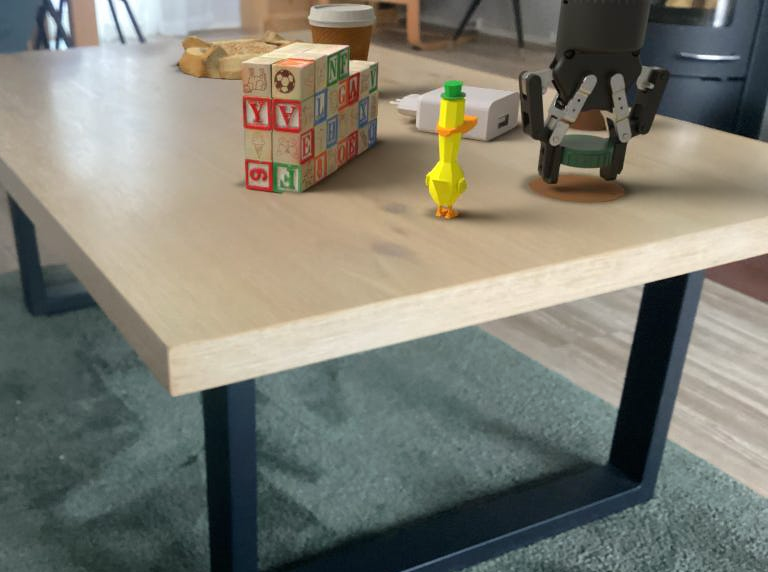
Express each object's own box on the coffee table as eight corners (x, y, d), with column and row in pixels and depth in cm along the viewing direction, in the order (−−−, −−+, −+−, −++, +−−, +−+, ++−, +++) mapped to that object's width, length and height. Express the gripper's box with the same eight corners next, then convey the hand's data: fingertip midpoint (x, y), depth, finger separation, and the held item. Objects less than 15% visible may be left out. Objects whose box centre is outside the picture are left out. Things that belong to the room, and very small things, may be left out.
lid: (541, 152, 85) (543, 135, 84) (595, 149, 86) (598, 132, 85) (565, 170, 80) (568, 152, 79) (622, 167, 81) (626, 149, 80)
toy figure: (448, 204, 81) (459, 72, 75) (482, 211, 79) (497, 76, 74) (411, 223, 77) (420, 84, 71) (447, 232, 75) (459, 89, 69)
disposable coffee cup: (300, 101, 122) (300, 10, 116) (315, 88, 130) (315, 2, 124) (367, 104, 120) (371, 12, 114) (377, 91, 128) (381, 4, 122)
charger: (409, 114, 114) (516, 129, 107) (373, 128, 108) (485, 145, 100) (411, 77, 112) (521, 90, 104) (375, 89, 106) (489, 103, 98)
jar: (609, 125, 108) (624, 37, 103) (607, 135, 104) (623, 44, 99) (566, 122, 110) (578, 35, 105) (563, 131, 105) (575, 42, 100)
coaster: (626, 183, 87) (627, 179, 86) (621, 210, 79) (622, 206, 79) (534, 174, 90) (535, 170, 89) (521, 200, 82) (522, 196, 82)
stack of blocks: (327, 139, 103) (329, 29, 97) (377, 144, 101) (382, 32, 95) (244, 188, 86) (240, 59, 80) (301, 196, 84) (301, 64, 78)
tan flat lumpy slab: (323, 56, 156) (323, 26, 153) (305, 81, 135) (305, 47, 133) (195, 53, 159) (193, 24, 157) (158, 77, 138) (156, 45, 136)
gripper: (661, -14, 80) (628, 166, 88) (512, -11, 78) (493, 173, 86) (707, -7, 73) (667, 188, 81) (546, -2, 72) (522, 196, 80)
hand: (578, 179), depth 84 cm, fingers closed on lid, 5 cm apart
